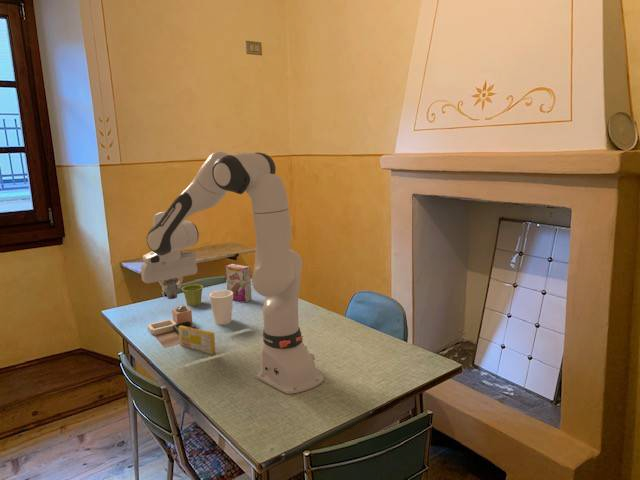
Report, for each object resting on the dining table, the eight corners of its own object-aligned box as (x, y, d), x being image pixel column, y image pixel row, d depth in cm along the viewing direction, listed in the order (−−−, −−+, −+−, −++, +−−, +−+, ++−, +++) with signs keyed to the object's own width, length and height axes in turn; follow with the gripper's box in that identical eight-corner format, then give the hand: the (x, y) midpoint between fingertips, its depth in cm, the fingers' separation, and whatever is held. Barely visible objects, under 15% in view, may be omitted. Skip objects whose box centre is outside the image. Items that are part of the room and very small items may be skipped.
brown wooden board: (207, 338, 179) (206, 331, 179) (164, 350, 171) (164, 342, 170) (187, 321, 197) (186, 314, 196) (148, 330, 188) (147, 323, 188)
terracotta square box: (192, 324, 191) (191, 310, 190) (178, 328, 188) (176, 313, 187) (187, 319, 196) (186, 306, 195) (173, 323, 193) (171, 309, 191)
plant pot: (182, 304, 218) (180, 286, 216) (202, 300, 222) (200, 283, 220) (185, 310, 210) (183, 292, 208) (206, 306, 214) (205, 288, 212)
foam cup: (237, 319, 198) (235, 290, 195) (231, 328, 189) (229, 297, 186) (215, 319, 198) (213, 290, 196) (208, 328, 189) (206, 297, 187)
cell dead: (188, 324, 191) (187, 306, 190) (180, 326, 190) (178, 308, 188) (185, 321, 194) (184, 304, 193) (177, 323, 192) (175, 306, 191)
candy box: (216, 354, 167) (214, 332, 165) (212, 356, 165) (210, 334, 163) (183, 345, 175) (181, 324, 173) (179, 347, 173) (177, 326, 171)
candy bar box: (227, 299, 223) (224, 265, 219) (234, 296, 227) (232, 263, 223) (245, 303, 217) (243, 268, 213) (252, 299, 221) (250, 266, 217)
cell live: (178, 297, 177) (177, 278, 175) (169, 299, 175) (167, 280, 173) (175, 295, 180) (173, 276, 178) (165, 297, 178) (164, 278, 176)
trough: (178, 329, 187) (177, 324, 186) (152, 335, 181) (151, 330, 181) (172, 323, 193) (171, 318, 193) (147, 329, 188) (146, 324, 187)
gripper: (192, 248, 182) (195, 282, 185) (138, 256, 171) (141, 293, 174) (198, 251, 177) (201, 286, 180) (143, 260, 166) (146, 297, 169)
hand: (171, 289), depth 177 cm, fingers closed on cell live, 4 cm apart
